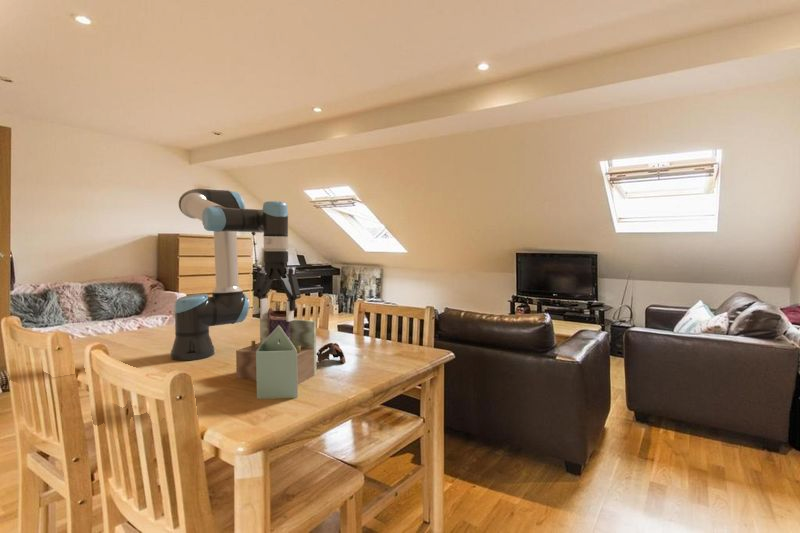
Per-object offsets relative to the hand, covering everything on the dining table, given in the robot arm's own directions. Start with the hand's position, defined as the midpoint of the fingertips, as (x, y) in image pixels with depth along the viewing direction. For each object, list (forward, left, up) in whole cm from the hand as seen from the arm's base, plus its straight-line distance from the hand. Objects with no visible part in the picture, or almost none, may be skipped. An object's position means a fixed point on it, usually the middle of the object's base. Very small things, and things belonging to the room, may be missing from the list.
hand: (277, 319), depth 135 cm
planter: (+8, -14, -19) cm, 25 cm away
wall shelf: (-1, +1, -19) cm, 19 cm away
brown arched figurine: (+8, +22, -19) cm, 30 cm away
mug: (-1, 0, -9) cm, 9 cm away
